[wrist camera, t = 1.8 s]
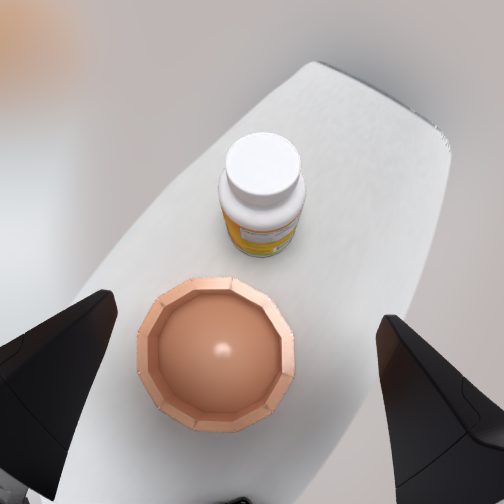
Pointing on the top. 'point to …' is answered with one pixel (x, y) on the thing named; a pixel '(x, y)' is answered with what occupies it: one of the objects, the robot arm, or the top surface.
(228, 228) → the supplement bottle
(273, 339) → the terracotta bowl
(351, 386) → the top surface
